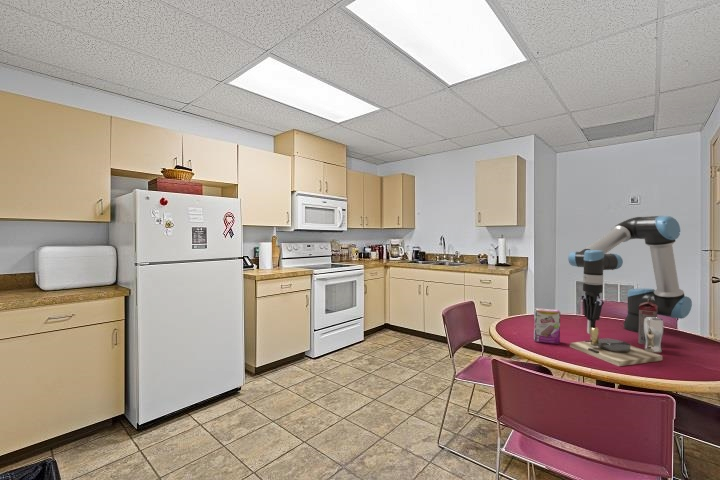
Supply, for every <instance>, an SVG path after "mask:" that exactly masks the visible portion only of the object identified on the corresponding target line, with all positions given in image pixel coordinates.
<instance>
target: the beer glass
mask: <svg viewBox="0 0 720 480" xmlns="http://www.w3.org/2000/svg"><path fill="white" fill-rule="evenodd" d="M644 334H645V339H646V344H645V345H644V350H646V351H649V352H652V353H655V354H660V353H662V352H663V351H662V344H661V343H662V339H663V336H664V319H663V318H659V317H657V318H656V317H644Z"/></svg>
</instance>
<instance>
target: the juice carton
mask: <svg viewBox="0 0 720 480" xmlns="http://www.w3.org/2000/svg"><path fill="white" fill-rule="evenodd" d="M644 317H656V318H658V314H657V305H655V304H653V303H651V302H649V298H648V302H644V303H641V304H640V305H639V332H638V344H640V345H644V346H645V344H646V339H645V334H644Z"/></svg>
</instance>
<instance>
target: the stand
mask: <svg viewBox="0 0 720 480" xmlns="http://www.w3.org/2000/svg"><path fill="white" fill-rule="evenodd" d="M585 341H586V340H583V341H576V342H573V341H572V342H570V343H569V347H570V348H571V349H574V350H576V351H578V352H581V353H584V354H587V355H588V356H589V355H590V356H592V357H594V358H597V359H600V360H601V361H605V362H607V363H610V364H612V365H614V366H617V367H624V366H625V367H626V366H631V365H639V364H645V363H652V362H660V361H663V355H661V354H659V353H655V352H650V351H647V350H645V349H643V348H639V347H637V346H634V345H631V344H630V352H627V353H620V352H612V351H608V350H604V349H602V348H600V347H598V346H593V345H591V342H585Z"/></svg>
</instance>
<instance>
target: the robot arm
mask: <svg viewBox="0 0 720 480" xmlns="http://www.w3.org/2000/svg"><path fill="white" fill-rule="evenodd" d="M680 233H681V226H680V224H679V221H678V220H677V219H676V218H674V217H673V216H669V215H668V216H667V215H665V216H664V215H655V216H654V215H653V216H635V217H631V218H628V219H625V220H623V221H622V222H619V223H618V224H616V225H614V226H613V227H611V229H610V231H609V232H607V233H606V234H605V235H603V236H602V237H600V238H599V239H596V241H594V242H593V243H591V244H589V245H588V246H587V247H585V248H584V249H582V250H581V251H572V252H570V253H569V255H568V258H567V259H568V264H569V265H570V266H572V267H577V268H583V276H582V278H583V279H582V282H583V284H582V291H583V292H584V295H581V300H582V306H583V307H582V308H583V315H584V317H585V318H586V319H587V324H586V334H589V335H591V327H592V328H595V327H596V322H597V321H600V317H601V312H602V309H603V305H604V303H605V302H604V300H601V296H600V295H601V294H602V293H603V283H604V271H610V270H611V271H614V270H618V269H620V268H621V267H622V266H623V262H624V261H623V258H622V256H621V255H619V254H617V253H609V252H610V251H612V250H614V249H615V248H616V247H618V246H619V245H620V244H622V243H625V242H626V243H627V242H628V241H631V240H644V244H645V245H647V246H648V247H649V250H650V256H651V261H652V266H653V267H652V268H653V273H654V281H655V285H656V289H654V288H631V289H628V291H627V314H626V317H625V319H624V322H623V329H625V330H628V331H631V332H636V333H639V305H640V304H641V303H644V302H648V298H649V302H651V303H653V304H655V305H657V316H658V315H660V316H664V317H669V318H672V319H674V318H675V319H681V320H682V319H684V318H687V316H688V315H689V314H690V313H691V311H692V307H693V302H692V298H690V297H689V296H685V291H684V290H683V289H680V285H679V279H678V273H677V267H676V259H675V255H674V248H673V244H674V243H676V240H677V239H678V238H679V237H680V235H681V234H680Z"/></svg>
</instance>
